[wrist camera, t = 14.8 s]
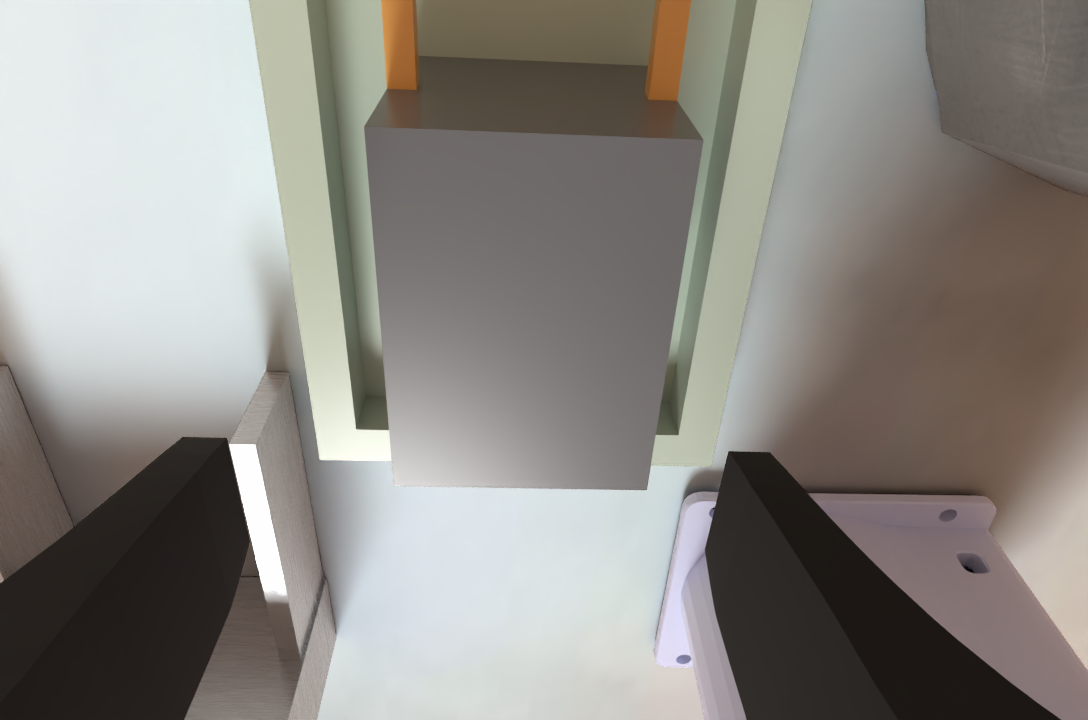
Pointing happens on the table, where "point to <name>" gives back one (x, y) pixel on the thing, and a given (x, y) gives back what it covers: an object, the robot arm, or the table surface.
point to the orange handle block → (528, 258)
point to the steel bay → (260, 602)
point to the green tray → (534, 35)
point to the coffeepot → (1015, 82)
